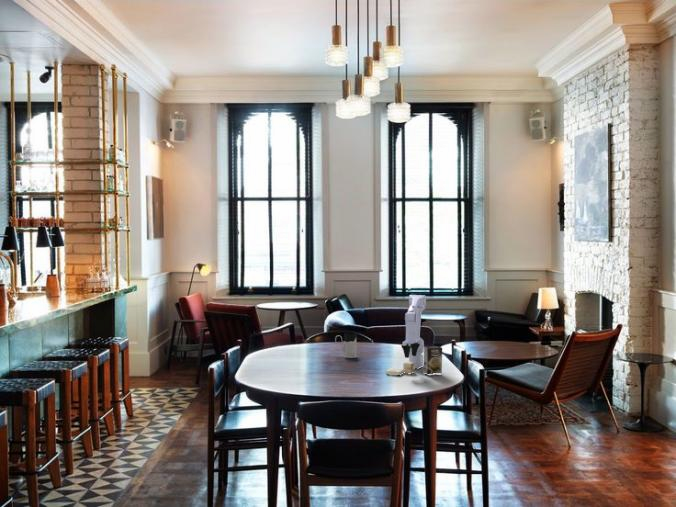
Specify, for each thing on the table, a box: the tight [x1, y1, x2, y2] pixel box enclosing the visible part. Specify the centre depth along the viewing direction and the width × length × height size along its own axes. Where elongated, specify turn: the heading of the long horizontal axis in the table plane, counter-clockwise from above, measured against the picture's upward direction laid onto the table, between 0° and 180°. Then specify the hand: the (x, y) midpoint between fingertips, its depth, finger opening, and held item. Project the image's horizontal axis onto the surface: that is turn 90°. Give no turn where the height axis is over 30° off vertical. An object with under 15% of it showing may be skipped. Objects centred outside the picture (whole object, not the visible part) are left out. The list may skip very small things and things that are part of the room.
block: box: [402, 361, 415, 373], centre depth 388 cm, size 4×4×6 cm
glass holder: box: [334, 332, 358, 359], centre depth 434 cm, size 9×14×15 cm, turn 89°
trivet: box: [385, 367, 404, 376], centre depth 385 cm, size 8×8×3 cm
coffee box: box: [422, 345, 443, 374], centre depth 384 cm, size 9×6×16 cm
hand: (410, 356), depth 383 cm, fingers open, 7 cm apart
